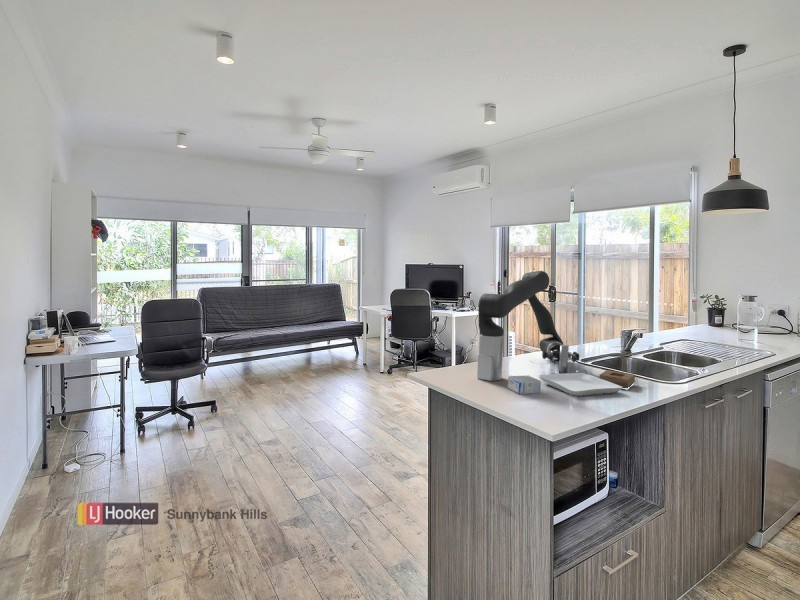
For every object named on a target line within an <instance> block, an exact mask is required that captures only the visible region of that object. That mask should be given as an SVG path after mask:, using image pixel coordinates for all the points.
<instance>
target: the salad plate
mask: <svg viewBox="0 0 800 600" xmlns="http://www.w3.org/2000/svg"><path fill="white" fill-rule="evenodd" d="M538 378H539V379H540V381H541V380H542V382H544V383H545V384H548V385H549V386H551V387H553V388H555V389H557V390H560V391H561V390H562V392H564V393H565V394H568V393H569V394H568V395H571V396H574V395H575V396H576V397H579V396H580V397H581V395H584V396H593V395H592V394H597V395H604V394H603V393H607V394H612V393H616V392H619V391H621V390H623V389H622V388H623V387H621V386H619V385H616V384H614V383H611V382H608V381H606V380H603V379H600V378H599V377H597V376H593V375H591V374H588V373H587V374H585V373H575V372H570V373H569V372H567V373H565V374H559V373H551V374H539V375H538Z"/></svg>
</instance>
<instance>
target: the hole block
mask: <svg viewBox="0 0 800 600" xmlns="http://www.w3.org/2000/svg"><path fill="white" fill-rule="evenodd" d="M598 378H600V379H603V380H606V381H608V382H611V383H614V384H616V385H619V386H621V387H623V388H628V387H630V386H631V385H632V384H633V383H634V382H635V379H636V374H634V373H627V372H622V371H614V370H608V369H607V370H605V371H603V372H601V373H600V374H598ZM634 384H635V383H634Z"/></svg>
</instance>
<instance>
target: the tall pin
mask: <svg viewBox="0 0 800 600" xmlns="http://www.w3.org/2000/svg"><path fill="white" fill-rule="evenodd" d="M569 349H570V348H569V345H567V344H566V345H565V344H563V345H560V359H559V362H558V374H565V373H568V367H569V365H568V364H569V360H568V352H569Z"/></svg>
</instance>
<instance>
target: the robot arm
mask: <svg viewBox="0 0 800 600" xmlns="http://www.w3.org/2000/svg"><path fill="white" fill-rule="evenodd" d="M549 285H550V277H549V275H548V273H547V272H545V271H544V270H535V271H531V272H525V273H524V274H523V275H522V277H521V279H520V280H516V281H514V282H512V283H510V284H509V285H506V288H505V289H504V292H503V293H502V294H501V293H482V295H480V297H479V299H478V305H477V306H478V307H477V309H478V310H477V311H478V313H477V314H478V329H479V335H478V336H479V337H478V338H479V340H478V355H477V376H476V377H477V378H476V379H478V378H479V379H478V380H483V381H487V382H488V381H489V382H493V381H501V380H502V379H503V361H504V360H503V356H504V335H505V334H504V328H503V327H502V326H501V325H498V324H497V323H495V322H494V321H493V319H503V318H504V317H506V316H507V315H509V313H511V312H512V311H513V310H514V309H515V308H516V307H518V306H520V305H522V303H524V302H526V301H527V300H528V302H529V304H530V307H531V308H532V311H533V313H534V316H535V319H536V323H537V327H538V330H539V331H538V332H539V333H540V334H541V335H546V336H547V335H551V336H550V337H547V338H546V337H545V338H542V339H541V340H540V341H539V344H538V345H539V346H538V347H539V349H540V351H541V353H542V354H541V356H542V359H544V360H545V359H547V360H549V361H550V362H551V361H552V362H553V361H554V362H556V363H559V359H560V345H564V341H563V339H562V338H561V336H560V335H559V333H558V332H557V329H556V327H555V323H554V319H553V316H552V314H551V311H550V310H548V308H547V307H546V306H545V305H544V304H543V303H542V302H541V301H540V299H539V298H538V297H537V294H538V293H540V292H543V291H546V290H547V289H548V288H549ZM568 361H572V362H573V363H575V362H578V361H580V354H579V353H578V352H577V351H573V352H571V351H568Z"/></svg>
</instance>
